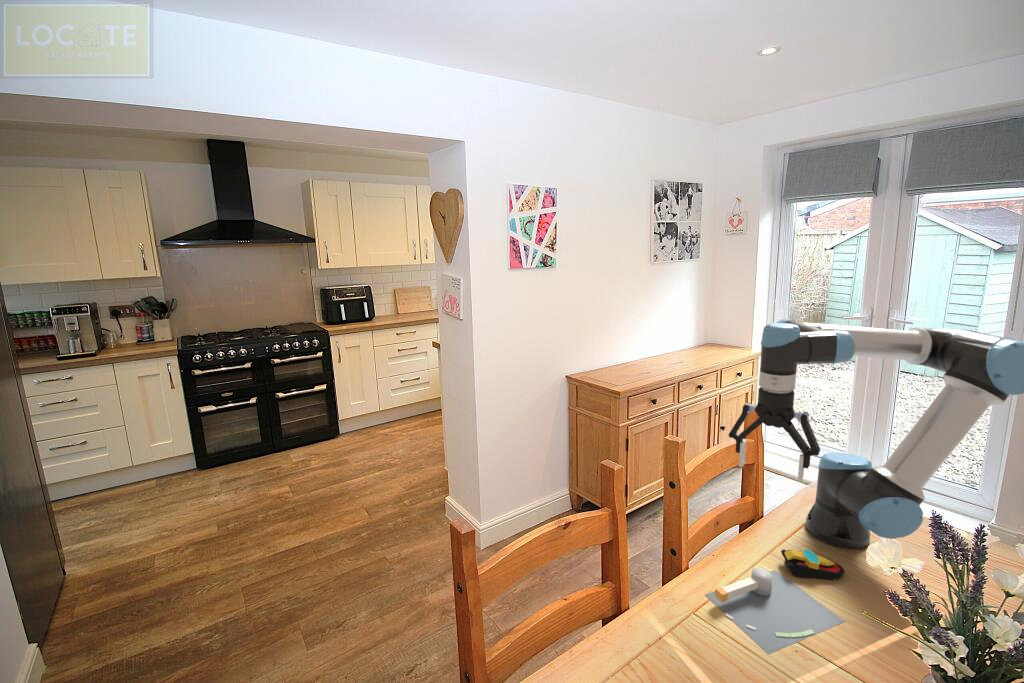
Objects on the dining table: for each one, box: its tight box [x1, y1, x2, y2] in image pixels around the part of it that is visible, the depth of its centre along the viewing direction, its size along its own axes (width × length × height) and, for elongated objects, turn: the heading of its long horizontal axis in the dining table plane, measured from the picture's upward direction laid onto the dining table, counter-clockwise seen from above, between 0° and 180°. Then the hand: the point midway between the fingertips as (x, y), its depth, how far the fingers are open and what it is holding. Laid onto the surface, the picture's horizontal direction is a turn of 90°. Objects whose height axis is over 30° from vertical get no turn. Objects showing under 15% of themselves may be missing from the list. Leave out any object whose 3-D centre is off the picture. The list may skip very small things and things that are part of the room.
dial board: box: [704, 569, 846, 655], centre depth 110 cm, size 22×18×1 cm
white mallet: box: [714, 567, 773, 602], centre depth 113 cm, size 15×4×4 cm, turn 110°
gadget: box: [780, 547, 845, 581], centre depth 121 cm, size 6×13×6 cm, turn 78°
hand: (770, 471), depth 120 cm, fingers open, 12 cm apart
